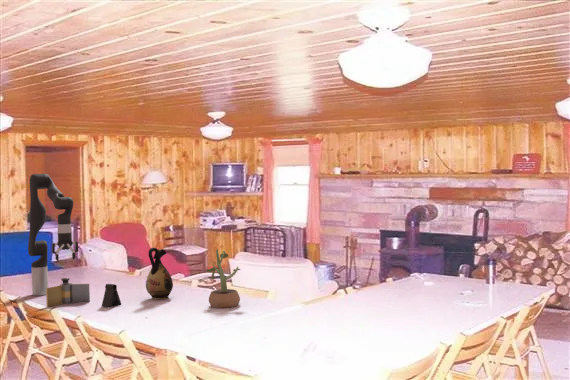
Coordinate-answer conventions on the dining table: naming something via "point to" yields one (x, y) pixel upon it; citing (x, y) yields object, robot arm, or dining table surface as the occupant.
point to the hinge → (67, 294)
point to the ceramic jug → (158, 277)
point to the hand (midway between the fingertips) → (65, 260)
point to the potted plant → (223, 287)
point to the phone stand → (111, 296)
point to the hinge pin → (65, 281)
